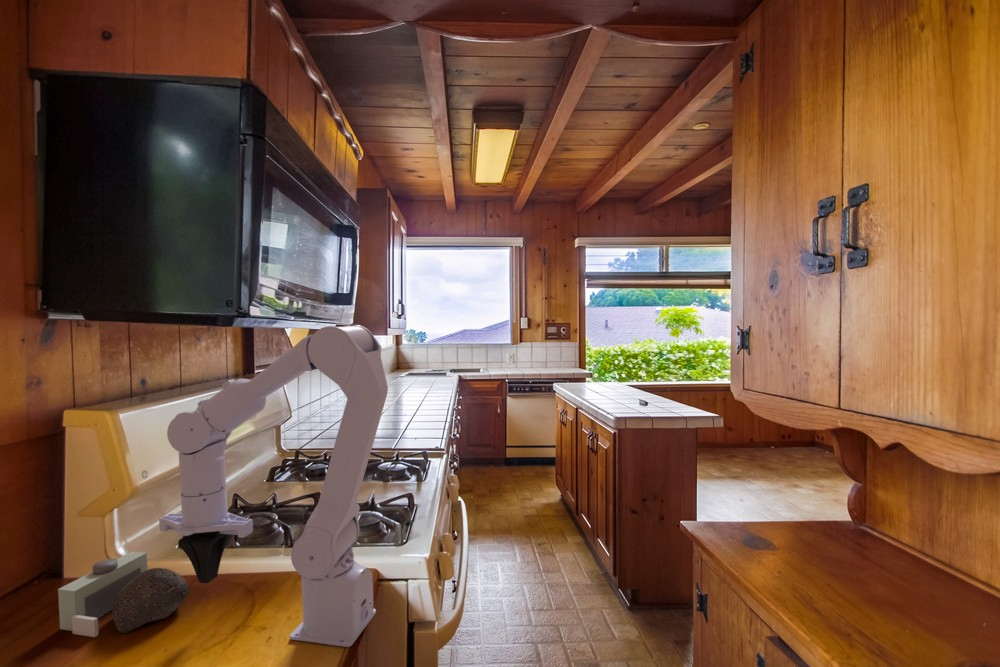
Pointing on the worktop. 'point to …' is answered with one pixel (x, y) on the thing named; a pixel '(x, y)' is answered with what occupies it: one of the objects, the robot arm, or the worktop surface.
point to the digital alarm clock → (97, 592)
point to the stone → (148, 598)
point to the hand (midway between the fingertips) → (208, 579)
